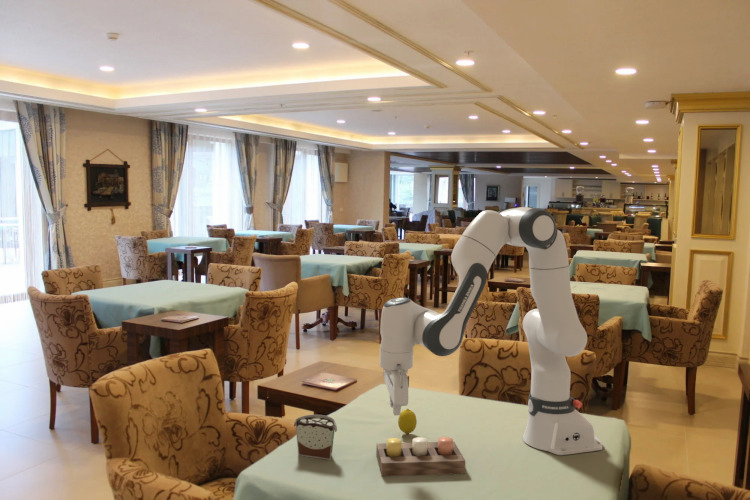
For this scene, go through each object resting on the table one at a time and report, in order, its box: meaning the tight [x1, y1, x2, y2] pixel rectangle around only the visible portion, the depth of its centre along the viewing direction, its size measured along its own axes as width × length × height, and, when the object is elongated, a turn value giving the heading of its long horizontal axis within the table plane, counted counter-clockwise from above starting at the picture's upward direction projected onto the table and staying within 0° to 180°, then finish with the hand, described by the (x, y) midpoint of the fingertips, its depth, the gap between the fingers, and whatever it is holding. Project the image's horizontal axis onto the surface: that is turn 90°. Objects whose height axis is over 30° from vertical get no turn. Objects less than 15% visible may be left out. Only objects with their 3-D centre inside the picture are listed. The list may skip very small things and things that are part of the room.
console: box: [375, 441, 466, 477], centre depth 159 cm, size 22×12×4 cm, turn 96°
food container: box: [293, 414, 338, 461], centre depth 164 cm, size 12×6×10 cm, turn 74°
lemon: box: [397, 408, 418, 435], centre depth 178 cm, size 6×6×8 cm
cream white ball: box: [411, 436, 428, 456], centre depth 159 cm, size 4×4×4 cm
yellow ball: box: [386, 437, 403, 457], centre depth 158 cm, size 4×4×4 cm
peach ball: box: [437, 436, 454, 455], centre depth 159 cm, size 4×4×4 cm
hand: (395, 410), depth 157 cm, fingers open, 4 cm apart
